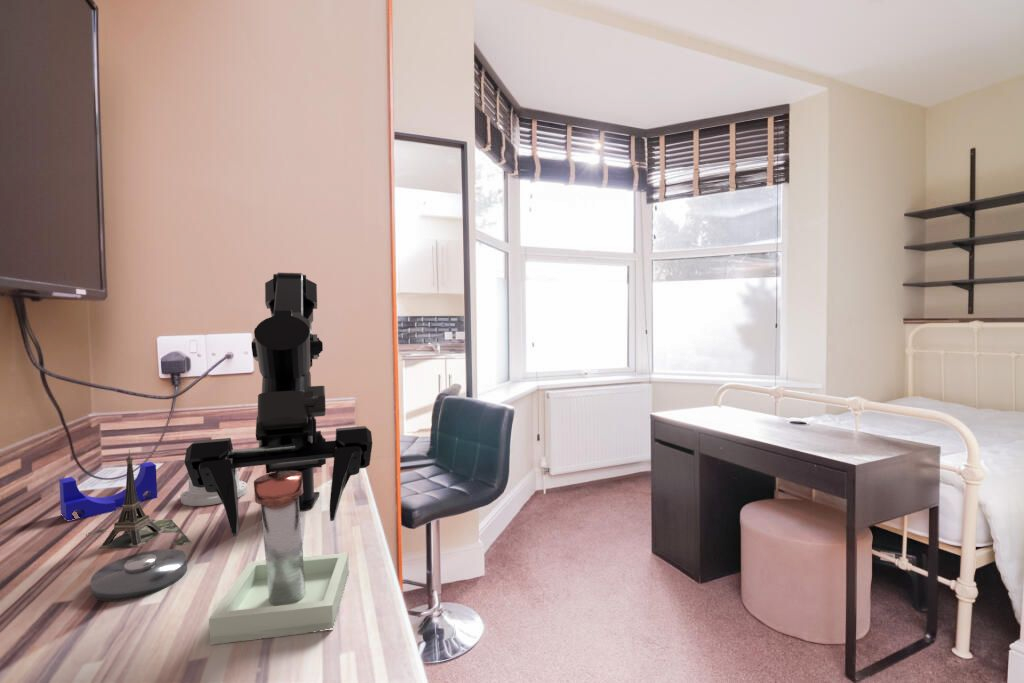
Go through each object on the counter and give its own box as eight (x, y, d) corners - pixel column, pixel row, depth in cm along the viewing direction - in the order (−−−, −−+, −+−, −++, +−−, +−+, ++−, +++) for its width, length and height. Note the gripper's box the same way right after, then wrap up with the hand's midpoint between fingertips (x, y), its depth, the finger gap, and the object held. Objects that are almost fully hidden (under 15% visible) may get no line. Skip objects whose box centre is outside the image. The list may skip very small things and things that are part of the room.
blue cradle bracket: (66, 523, 74) (64, 485, 74) (61, 516, 77) (59, 479, 77) (160, 500, 83) (158, 466, 83) (151, 495, 86) (150, 461, 86)
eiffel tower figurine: (193, 546, 67) (190, 451, 66) (98, 574, 60) (93, 467, 59) (167, 517, 77) (164, 434, 77) (83, 538, 70) (79, 446, 69)
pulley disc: (121, 564, 61) (120, 546, 61) (200, 557, 62) (199, 540, 62) (70, 605, 52) (69, 584, 52) (164, 596, 54) (163, 575, 54)
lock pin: (260, 594, 53) (251, 477, 52) (305, 579, 55) (297, 467, 54) (267, 614, 49) (256, 488, 48) (315, 597, 51) (305, 478, 51)
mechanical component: (221, 508, 80) (259, 488, 90) (221, 482, 79) (258, 464, 89) (166, 507, 81) (209, 486, 91) (165, 481, 80) (208, 463, 90)
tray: (250, 583, 56) (249, 562, 56) (348, 573, 58) (348, 552, 58) (209, 644, 45) (209, 619, 45) (332, 630, 47) (332, 605, 47)
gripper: (185, 366, 51) (159, 506, 41) (368, 359, 58) (383, 477, 48) (203, 425, 58) (184, 555, 49) (363, 413, 66) (375, 524, 56)
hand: (285, 526), depth 50 cm, fingers open, 9 cm apart
